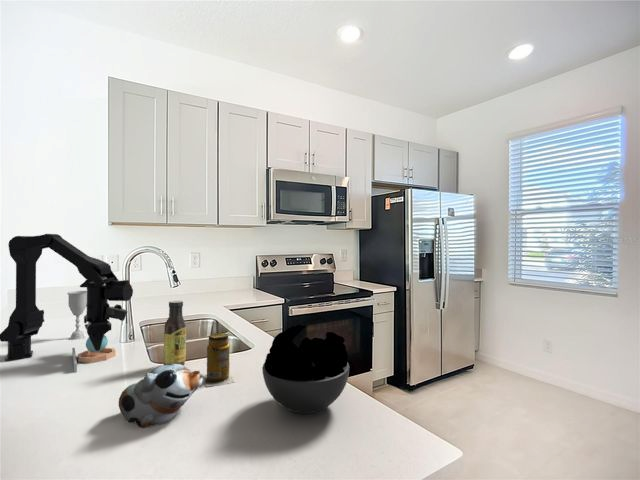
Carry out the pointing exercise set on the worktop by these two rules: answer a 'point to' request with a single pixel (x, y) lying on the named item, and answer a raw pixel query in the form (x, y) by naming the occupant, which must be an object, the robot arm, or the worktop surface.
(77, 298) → the chalice
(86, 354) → the saucer
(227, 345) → the condiment
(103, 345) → the ball
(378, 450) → the worktop surface
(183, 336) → the sauce bottle
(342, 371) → the coal bowl
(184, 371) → the lucky cat figurine
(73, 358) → the low wall
